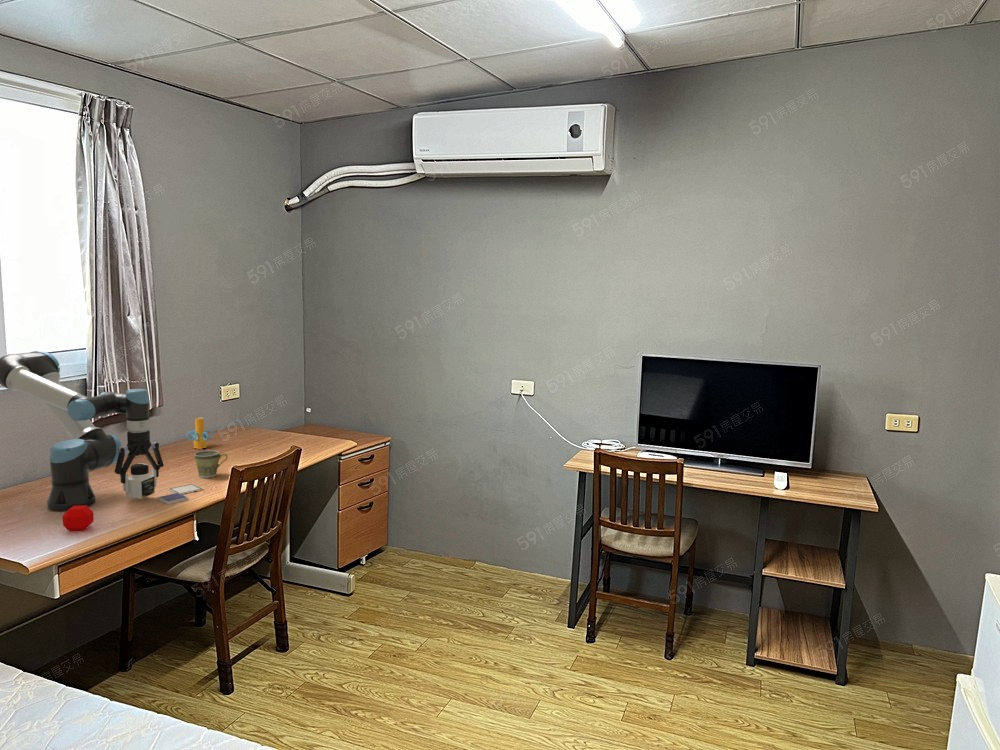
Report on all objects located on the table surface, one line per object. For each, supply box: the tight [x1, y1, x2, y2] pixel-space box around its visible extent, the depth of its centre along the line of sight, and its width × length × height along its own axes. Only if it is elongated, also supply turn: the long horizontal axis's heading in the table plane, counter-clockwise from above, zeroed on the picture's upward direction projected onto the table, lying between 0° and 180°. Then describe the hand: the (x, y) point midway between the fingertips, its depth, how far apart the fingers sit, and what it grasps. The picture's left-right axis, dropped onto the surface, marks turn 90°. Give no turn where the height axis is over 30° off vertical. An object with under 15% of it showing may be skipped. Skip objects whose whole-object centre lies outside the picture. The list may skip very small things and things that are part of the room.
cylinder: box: [186, 417, 214, 449], centre depth 348 cm, size 12×10×15 cm
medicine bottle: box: [125, 462, 156, 500], centre depth 268 cm, size 7×7×12 cm
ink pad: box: [157, 493, 189, 505], centre depth 270 cm, size 8×8×1 cm
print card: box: [167, 483, 204, 495], centre depth 282 cm, size 10×10×1 cm
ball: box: [62, 505, 95, 533], centre depth 236 cm, size 8×8×8 cm
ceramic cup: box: [193, 449, 228, 479], centre depth 302 cm, size 13×10×10 cm
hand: (140, 488), depth 269 cm, fingers closed on medicine bottle, 9 cm apart
